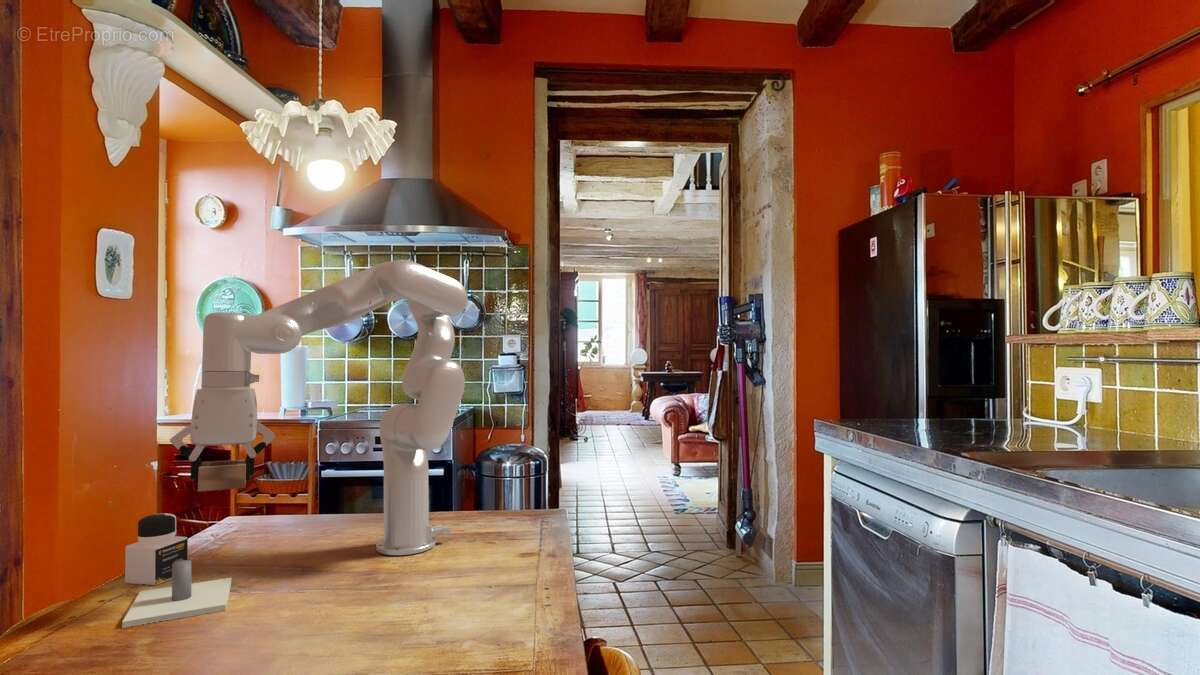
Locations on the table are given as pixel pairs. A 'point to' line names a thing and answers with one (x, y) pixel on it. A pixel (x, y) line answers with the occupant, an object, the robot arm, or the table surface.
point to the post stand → (179, 598)
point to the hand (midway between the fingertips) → (223, 480)
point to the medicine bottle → (154, 550)
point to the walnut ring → (222, 475)
